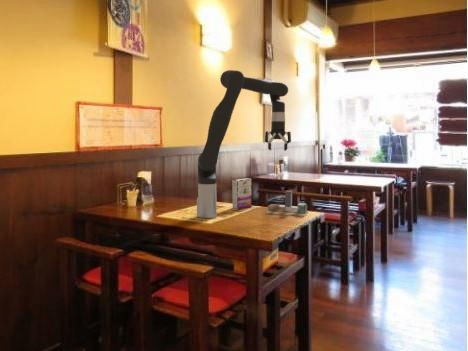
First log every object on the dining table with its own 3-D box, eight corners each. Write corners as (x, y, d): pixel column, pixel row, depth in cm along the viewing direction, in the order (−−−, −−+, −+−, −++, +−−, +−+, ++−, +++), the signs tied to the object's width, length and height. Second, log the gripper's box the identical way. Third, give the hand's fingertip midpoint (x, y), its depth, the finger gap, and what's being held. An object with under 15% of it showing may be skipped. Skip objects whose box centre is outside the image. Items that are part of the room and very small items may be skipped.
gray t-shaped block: (278, 210, 215) (278, 190, 214) (279, 209, 218) (280, 190, 217) (302, 212, 211) (303, 192, 210) (303, 211, 214) (304, 191, 212)
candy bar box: (246, 205, 236) (246, 178, 234) (251, 206, 233) (252, 178, 231) (231, 208, 229) (231, 179, 227) (237, 209, 225) (237, 180, 223)
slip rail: (266, 213, 214) (266, 203, 214) (271, 210, 223) (271, 200, 223) (304, 216, 207) (304, 206, 207) (307, 212, 216) (308, 202, 216)
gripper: (263, 120, 219) (263, 150, 221) (289, 120, 214) (288, 151, 216) (267, 121, 226) (267, 149, 228) (292, 120, 221) (291, 150, 223)
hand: (277, 150), depth 222 cm, fingers open, 8 cm apart
